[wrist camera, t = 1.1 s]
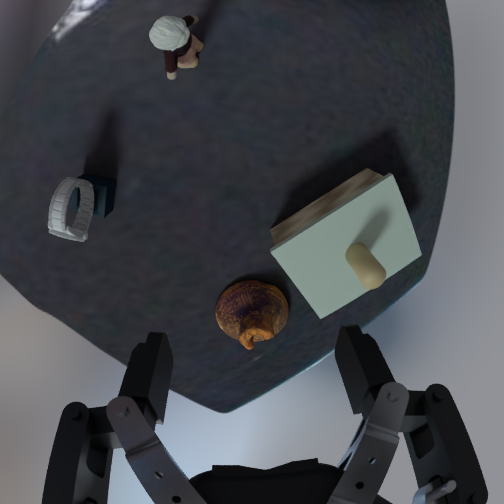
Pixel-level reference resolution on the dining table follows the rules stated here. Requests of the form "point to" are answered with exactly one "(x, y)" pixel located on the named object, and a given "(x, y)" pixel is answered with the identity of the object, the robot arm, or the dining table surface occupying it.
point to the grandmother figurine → (176, 42)
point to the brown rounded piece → (251, 300)
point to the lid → (350, 247)
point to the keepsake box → (323, 205)
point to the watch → (80, 205)
